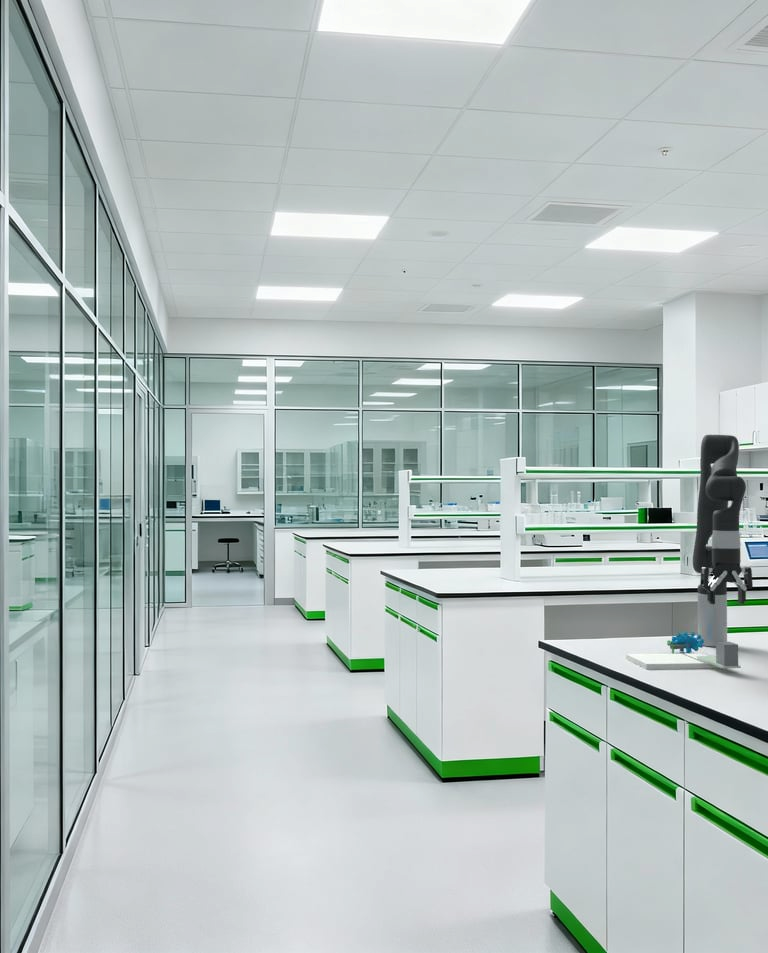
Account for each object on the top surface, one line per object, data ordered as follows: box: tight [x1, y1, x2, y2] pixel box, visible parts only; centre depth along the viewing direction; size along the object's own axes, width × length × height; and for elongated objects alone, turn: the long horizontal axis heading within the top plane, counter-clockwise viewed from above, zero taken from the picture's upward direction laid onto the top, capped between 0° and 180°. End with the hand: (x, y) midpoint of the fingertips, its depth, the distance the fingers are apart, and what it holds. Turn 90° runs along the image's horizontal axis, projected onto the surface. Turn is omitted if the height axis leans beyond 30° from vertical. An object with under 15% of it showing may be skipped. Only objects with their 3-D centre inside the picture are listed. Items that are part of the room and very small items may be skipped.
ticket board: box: [625, 652, 721, 670], centre depth 257 cm, size 16×24×2 cm, turn 95°
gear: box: [666, 631, 704, 654], centre depth 273 cm, size 11×6×10 cm
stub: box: [697, 641, 741, 669], centre depth 249 cm, size 16×5×7 cm, turn 5°
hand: (726, 603), depth 244 cm, fingers open, 8 cm apart
